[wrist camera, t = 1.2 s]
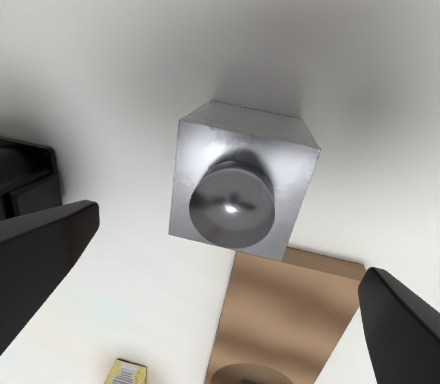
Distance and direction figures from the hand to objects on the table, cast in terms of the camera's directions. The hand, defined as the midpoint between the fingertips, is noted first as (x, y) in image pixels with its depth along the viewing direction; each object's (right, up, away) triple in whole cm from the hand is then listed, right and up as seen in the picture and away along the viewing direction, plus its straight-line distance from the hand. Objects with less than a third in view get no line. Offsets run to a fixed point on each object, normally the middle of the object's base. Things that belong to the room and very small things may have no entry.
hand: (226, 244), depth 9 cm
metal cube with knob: (+2, +4, +10) cm, 11 cm away
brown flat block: (+4, -13, +18) cm, 22 cm away
